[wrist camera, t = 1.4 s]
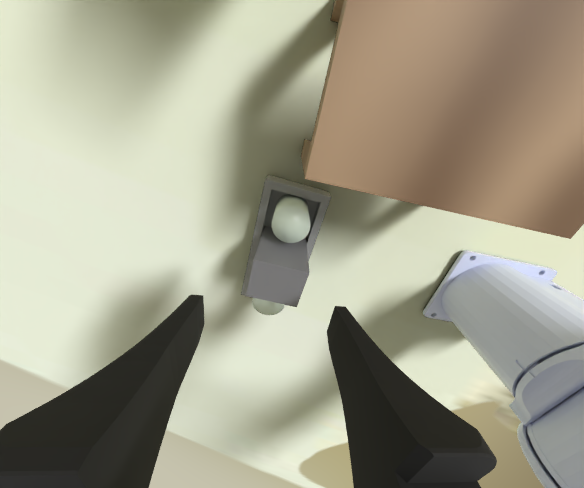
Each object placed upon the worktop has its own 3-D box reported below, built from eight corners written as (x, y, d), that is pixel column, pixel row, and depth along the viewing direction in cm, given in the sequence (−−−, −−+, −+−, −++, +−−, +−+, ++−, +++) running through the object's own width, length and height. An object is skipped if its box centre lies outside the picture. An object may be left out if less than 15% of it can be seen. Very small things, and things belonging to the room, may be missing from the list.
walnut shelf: (522, 48, 14) (841, -69, 6) (446, 190, 18) (570, 238, 10) (336, -8, 13) (405, -243, 5) (300, 156, 17) (305, 179, 9)
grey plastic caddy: (327, 190, 18) (342, 218, 12) (292, 292, 23) (291, 346, 17) (268, 174, 18) (254, 194, 12) (245, 281, 23) (227, 333, 17)
